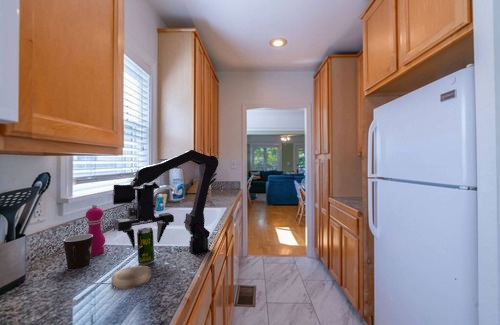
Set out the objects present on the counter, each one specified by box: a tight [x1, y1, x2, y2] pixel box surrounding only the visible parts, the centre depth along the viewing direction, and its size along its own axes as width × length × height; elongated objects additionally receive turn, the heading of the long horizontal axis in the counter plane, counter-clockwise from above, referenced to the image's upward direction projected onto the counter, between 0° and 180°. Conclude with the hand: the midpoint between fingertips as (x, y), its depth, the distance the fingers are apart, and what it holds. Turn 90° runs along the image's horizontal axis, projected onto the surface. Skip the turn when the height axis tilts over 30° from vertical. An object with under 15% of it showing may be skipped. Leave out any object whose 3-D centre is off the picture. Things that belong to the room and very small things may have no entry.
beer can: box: [136, 227, 155, 266], centre depth 86 cm, size 5×5×12 cm
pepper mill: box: [85, 203, 106, 257], centre depth 97 cm, size 7×7×20 cm
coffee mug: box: [63, 233, 93, 271], centre depth 83 cm, size 12×9×10 cm
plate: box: [111, 265, 152, 290], centre depth 74 cm, size 11×11×2 cm
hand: (146, 244), depth 86 cm, fingers open, 8 cm apart
